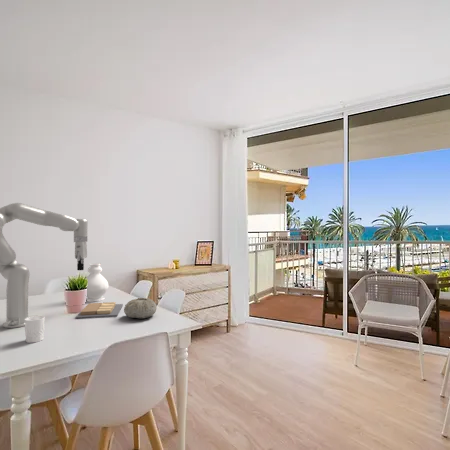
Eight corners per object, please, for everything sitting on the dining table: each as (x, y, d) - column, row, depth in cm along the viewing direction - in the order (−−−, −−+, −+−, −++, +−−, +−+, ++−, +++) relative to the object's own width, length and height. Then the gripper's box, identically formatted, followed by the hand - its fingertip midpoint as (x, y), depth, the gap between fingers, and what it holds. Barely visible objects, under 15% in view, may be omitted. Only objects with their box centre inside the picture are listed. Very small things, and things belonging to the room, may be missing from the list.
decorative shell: (145, 323, 169) (145, 304, 169) (117, 319, 175) (117, 301, 175) (162, 314, 186) (162, 297, 186) (136, 311, 192) (136, 294, 192)
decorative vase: (92, 303, 211) (92, 266, 211) (75, 300, 220) (75, 264, 220) (114, 298, 226) (114, 263, 226) (97, 295, 235) (97, 261, 235)
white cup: (48, 337, 147) (48, 315, 147) (38, 343, 140) (38, 320, 140) (30, 337, 147) (30, 315, 147) (20, 343, 139) (20, 320, 139)
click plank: (110, 313, 183) (110, 310, 183) (96, 314, 181) (96, 310, 181) (115, 305, 202) (115, 302, 202) (103, 305, 201) (103, 302, 201)
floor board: (117, 316, 181) (117, 311, 181) (75, 318, 176) (75, 313, 176) (122, 305, 206) (122, 300, 206) (86, 307, 202) (86, 302, 202)
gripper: (84, 239, 185) (84, 271, 184) (90, 239, 199) (89, 268, 199) (70, 240, 183) (70, 272, 183) (77, 239, 198) (77, 268, 198)
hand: (80, 270), depth 191 cm, fingers closed
